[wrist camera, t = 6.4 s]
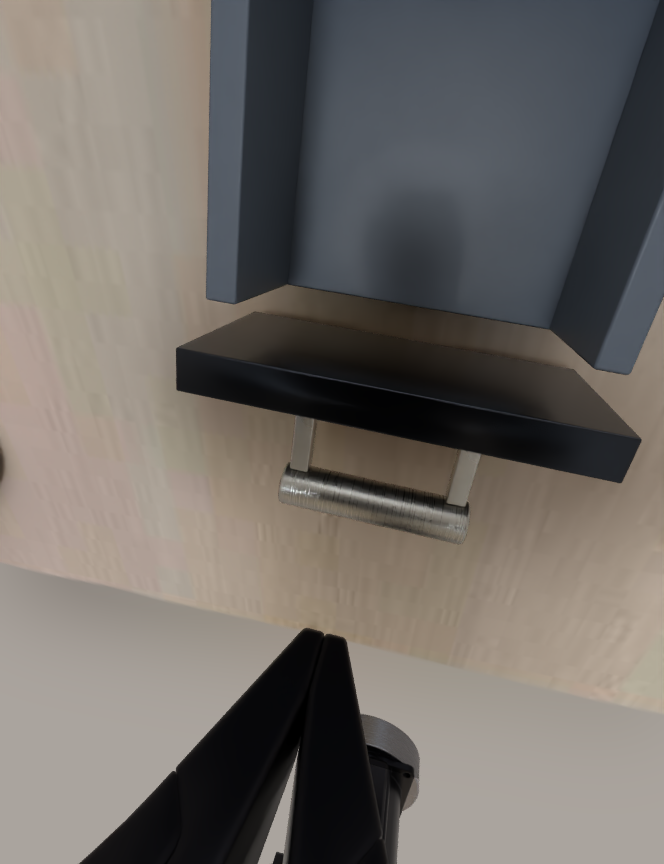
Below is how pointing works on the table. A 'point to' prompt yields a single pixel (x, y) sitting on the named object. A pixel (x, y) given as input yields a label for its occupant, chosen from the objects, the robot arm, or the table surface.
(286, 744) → the robot arm
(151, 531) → the table surface
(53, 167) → the table surface
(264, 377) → the drawer
